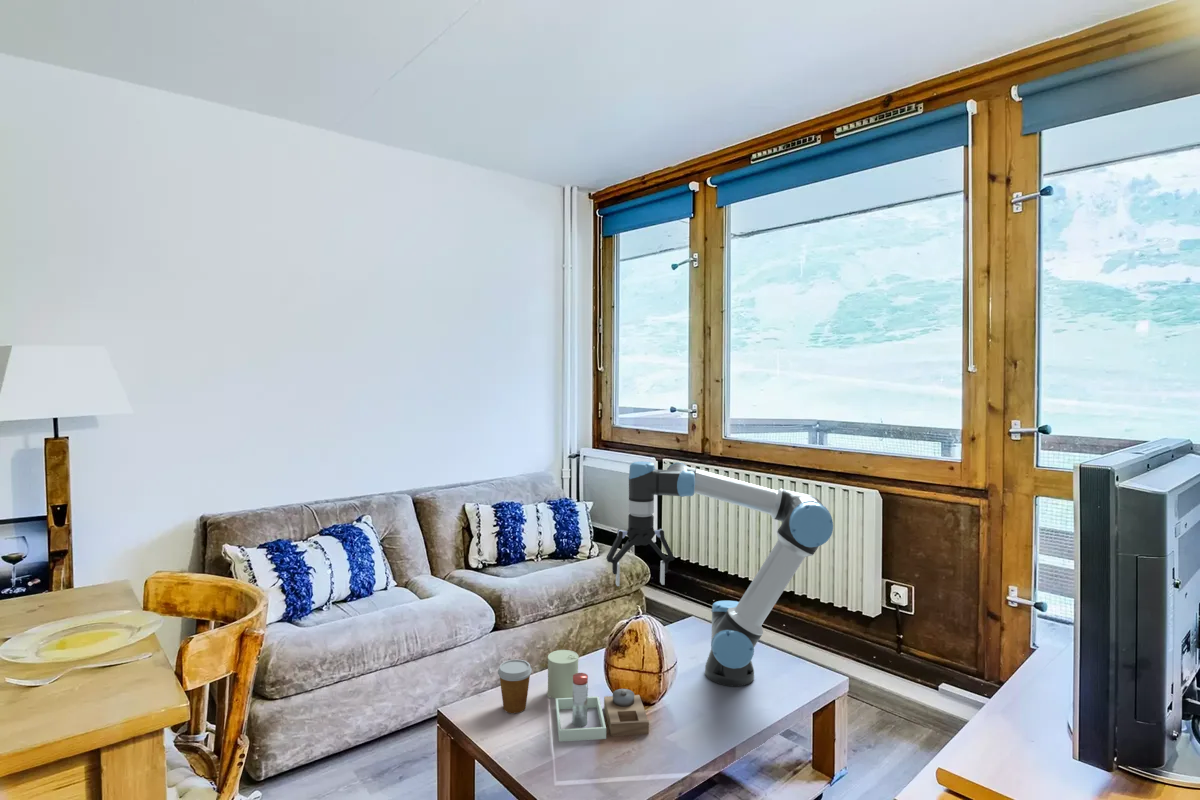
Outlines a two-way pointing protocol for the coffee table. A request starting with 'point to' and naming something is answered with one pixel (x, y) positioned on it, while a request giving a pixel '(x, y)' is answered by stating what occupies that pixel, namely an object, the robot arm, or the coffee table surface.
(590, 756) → the coffee table surface
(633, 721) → the socket block
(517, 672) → the disposable coffee cup
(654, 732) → the coffee table surface
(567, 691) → the can
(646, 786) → the coffee table surface
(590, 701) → the tray
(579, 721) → the red capped bottle
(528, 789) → the coffee table surface
